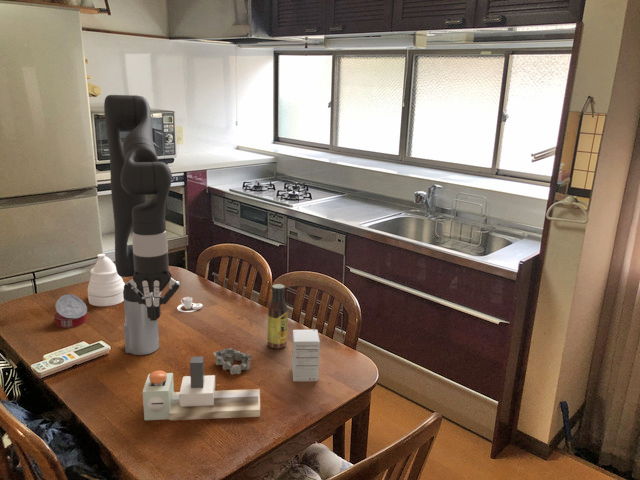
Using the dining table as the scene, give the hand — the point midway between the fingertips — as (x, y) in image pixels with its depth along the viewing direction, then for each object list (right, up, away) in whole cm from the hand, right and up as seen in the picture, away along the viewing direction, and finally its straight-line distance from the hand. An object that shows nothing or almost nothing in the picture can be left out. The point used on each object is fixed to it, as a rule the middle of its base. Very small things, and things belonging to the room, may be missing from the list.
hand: (154, 319), depth 123 cm
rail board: (+13, -24, +9) cm, 29 cm away
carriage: (+8, -22, +8) cm, 25 cm away
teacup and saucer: (-7, -7, +63) cm, 64 cm away
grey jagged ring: (+14, -18, +29) cm, 37 cm away
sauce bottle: (+26, -15, +42) cm, 51 cm away
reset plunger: (-1, -20, +6) cm, 21 cm away
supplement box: (+35, -20, +26) cm, 48 cm away
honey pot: (-40, -3, +70) cm, 80 cm away
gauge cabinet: (-1, -24, +7) cm, 25 cm away
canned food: (-44, -9, +52) cm, 69 cm away
